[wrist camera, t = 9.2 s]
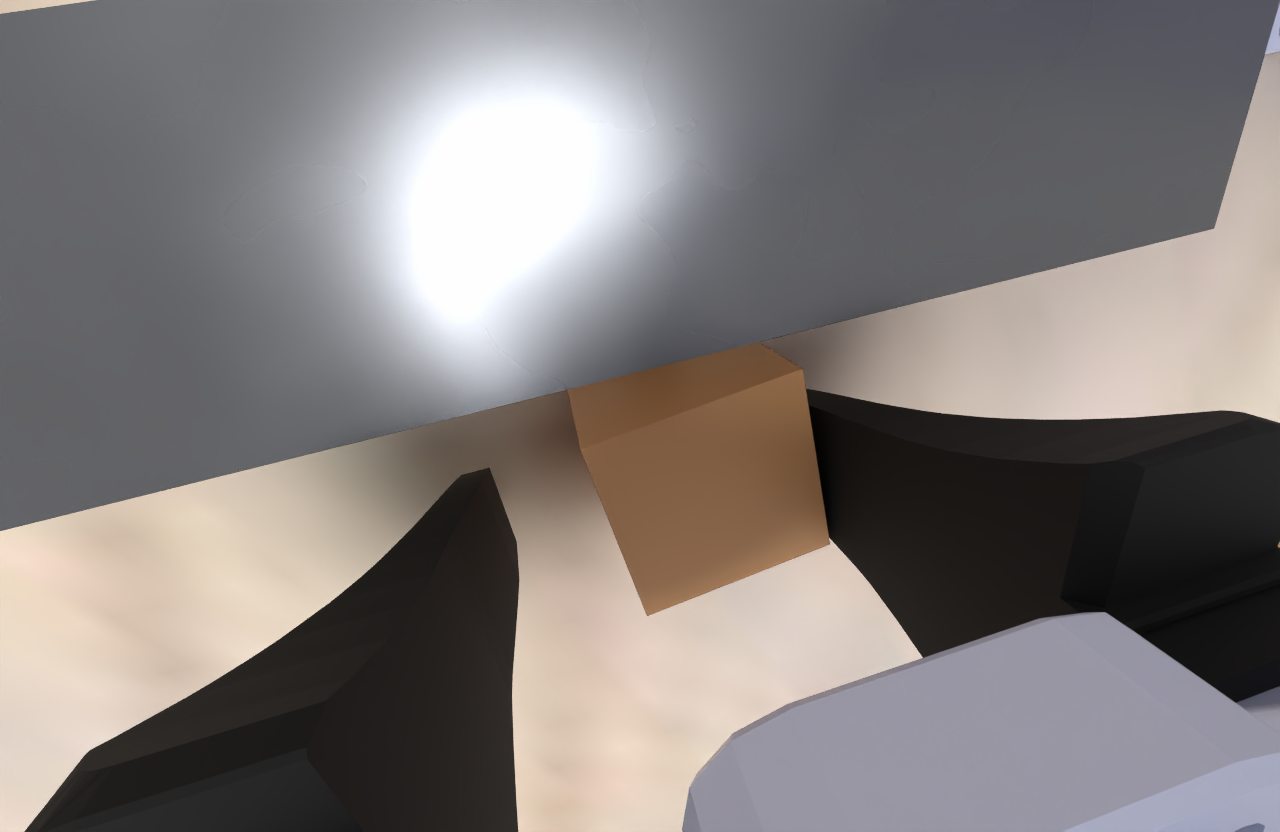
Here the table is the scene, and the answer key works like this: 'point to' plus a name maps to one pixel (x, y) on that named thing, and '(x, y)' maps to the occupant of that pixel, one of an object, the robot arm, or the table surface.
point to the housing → (538, 198)
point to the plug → (704, 469)
